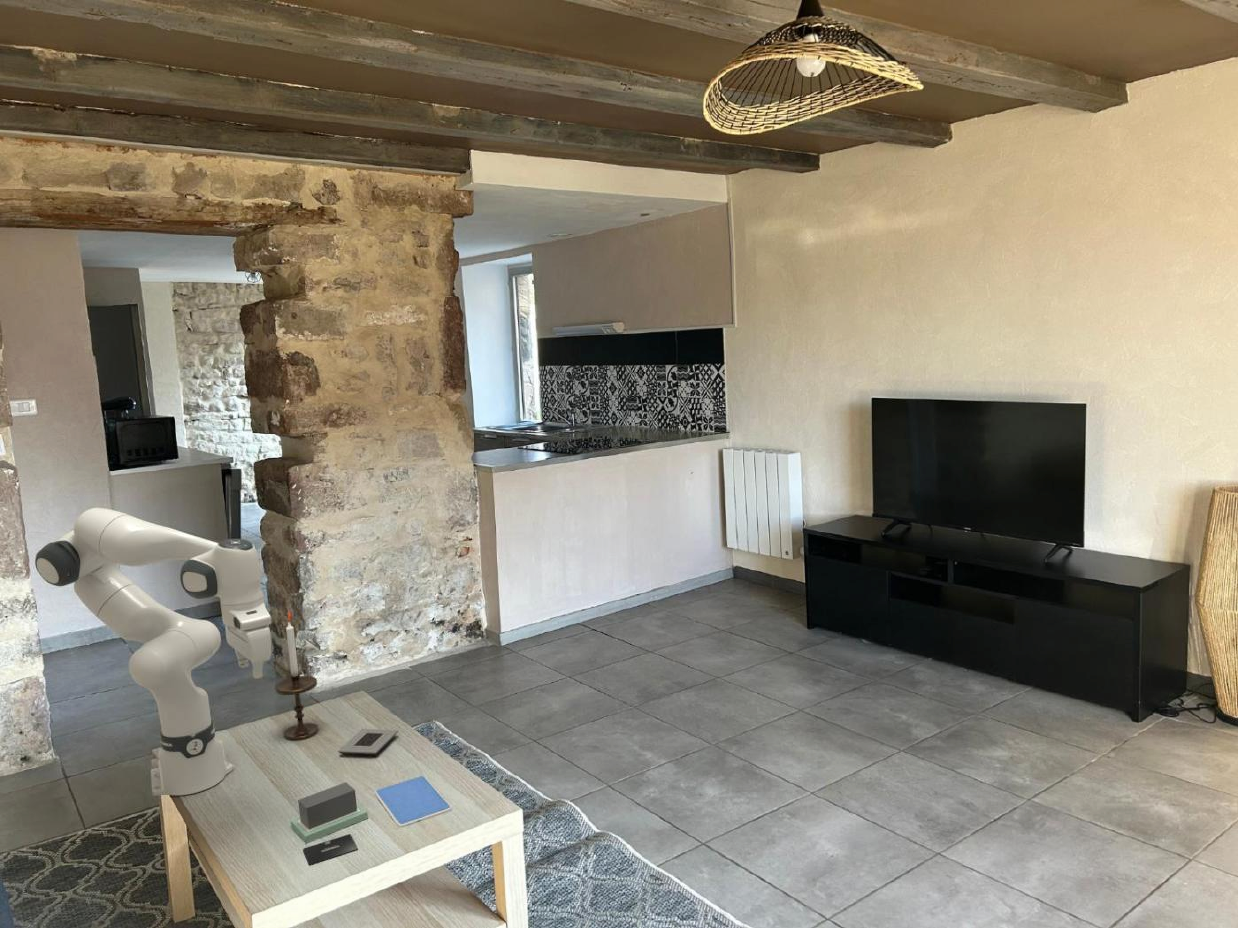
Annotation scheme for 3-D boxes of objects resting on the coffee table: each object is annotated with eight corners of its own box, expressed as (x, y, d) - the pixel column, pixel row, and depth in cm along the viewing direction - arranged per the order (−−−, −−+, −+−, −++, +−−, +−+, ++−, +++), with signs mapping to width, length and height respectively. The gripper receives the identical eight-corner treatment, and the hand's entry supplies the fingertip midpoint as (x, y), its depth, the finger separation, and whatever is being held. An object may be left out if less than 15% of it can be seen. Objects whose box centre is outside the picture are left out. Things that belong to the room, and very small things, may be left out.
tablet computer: (453, 812, 202) (453, 806, 202) (399, 830, 196) (398, 825, 196) (424, 779, 219) (424, 774, 218) (373, 795, 212) (372, 790, 212)
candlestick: (294, 724, 254) (280, 604, 249) (329, 725, 252) (316, 605, 247) (272, 741, 244) (258, 617, 239) (308, 742, 241) (295, 617, 237)
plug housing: (300, 820, 198) (298, 799, 197) (348, 802, 205) (345, 781, 204) (308, 829, 194) (306, 808, 194) (357, 810, 201) (355, 789, 201)
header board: (291, 826, 199) (289, 809, 198) (351, 803, 208) (349, 787, 207) (306, 842, 192) (304, 825, 191) (367, 817, 201) (366, 801, 200)
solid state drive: (302, 851, 190) (302, 848, 189) (350, 836, 194) (350, 833, 194) (309, 867, 183) (309, 864, 183) (358, 851, 188) (358, 848, 188)
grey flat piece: (376, 760, 230) (375, 751, 230) (338, 758, 232) (337, 749, 232) (398, 737, 243) (398, 729, 242) (363, 736, 245) (362, 727, 244)
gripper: (214, 606, 204) (222, 664, 206) (243, 625, 189) (250, 687, 190) (243, 599, 208) (250, 657, 210) (273, 618, 192) (280, 679, 194)
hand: (250, 671), depth 200 cm, fingers open, 8 cm apart
